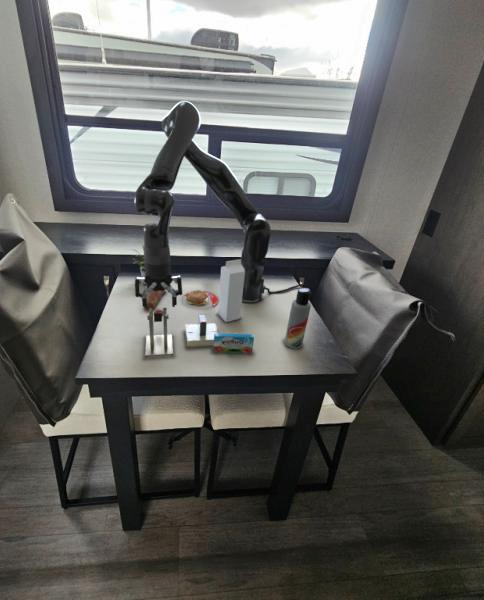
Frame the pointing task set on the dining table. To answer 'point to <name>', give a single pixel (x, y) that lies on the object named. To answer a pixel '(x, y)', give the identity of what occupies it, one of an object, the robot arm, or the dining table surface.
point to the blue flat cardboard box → (233, 343)
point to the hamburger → (200, 297)
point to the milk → (231, 290)
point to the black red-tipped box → (202, 325)
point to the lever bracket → (158, 338)
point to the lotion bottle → (298, 319)
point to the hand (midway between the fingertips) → (159, 306)
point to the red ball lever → (158, 315)
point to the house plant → (141, 265)
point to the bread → (153, 298)
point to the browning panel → (195, 338)
